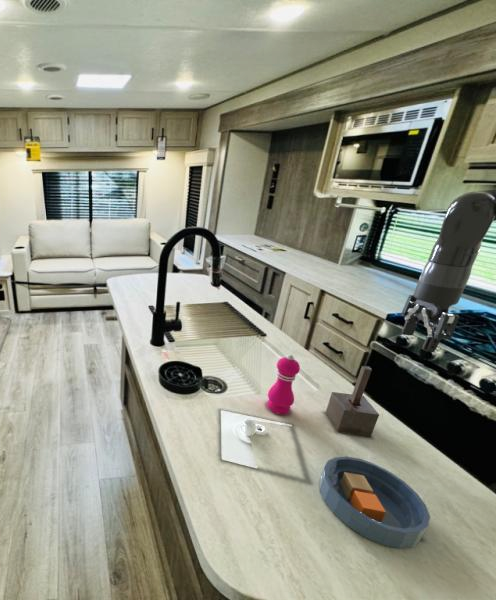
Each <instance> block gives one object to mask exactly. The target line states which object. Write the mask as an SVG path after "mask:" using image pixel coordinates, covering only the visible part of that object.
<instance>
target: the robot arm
mask: <svg viewBox="0 0 496 600" xmlns="http://www.w3.org/2000/svg"><path fill="white" fill-rule="evenodd" d="M445 212H446V213H445V215H444V218H443V222H442V224H441V228H440V230H439V236H438V238H437V240H436V241H435V243H434V245H433V247H432V249H431V252H430V254H429V257H428V260H427V262H426V263H425V265H424V266H423V269H422V271H421V273H420V276H419V279H418V281H417V284H416V287H415V289H414V291H413V294H409V295H408V297H407V299H406V301H405V304H404V306H403V308H402V310H401V314H400V315H401V316H402V317H404V321H405V322H404V325H403V327H402V329H401V334H402V335H403V336H413V335H414V333H415V331H416V329H417V326H418V324H419V323H418V322H419V321H420V320H421V321H422V322H423V326H424V328H426V331H427V335H426V337H425V339H424V342H423V344H422V346H421V349H422V350H423V351H425V352H430V353H431V352H432V353H434V352H435V351H436V350H437V348H438V346H439V344H440V342H441V340H451V339H452V338H453V335H454V332H455V329H456V327H457V325H458V322H459V320H460V316H459V314H452V313H449V310H450V307H452V306H455V305H457V304H458V303H459V301H460V299H461V297H462V295H463V293H464V290H465V288H466V285H467V284H468V281H469V279H470V277H471V275H472V274H471V273H472V269H473V267H474V264H475V261H476V259H477V257H478V255H479V252H480V250H481V247H482V242H483V240H484V239H485V237H486V235H487V234H488V231H489V230H490V228H491V226H492V224H493V222H496V188H490V189H482V190H474V191H470V192H466V193H463V194H462V195H459V196H458V197H455V198H454V199H453V200H452V201H451V202H450V204H449V205H448V207H447V210H446V211H445ZM409 309H411V310H409ZM445 330H446V331H445Z"/></svg>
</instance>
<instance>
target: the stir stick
mask: <svg viewBox="0 0 496 600" xmlns="http://www.w3.org/2000/svg"><path fill="white" fill-rule="evenodd" d="M371 373H372V368H371V367H370V366H366V365H361V368H360V370H359V373H358V376H357V380H356V382H355V384H354V388H353V391H352V393H351V394H352V396H351V399H350V403H351V405H357V406H359V404H360V401H361V398H362V396H364V395H363V394H364V393H365V392H364V391H365V389H366V387H367V384H368V381H369V378H370V377H371Z"/></svg>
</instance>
